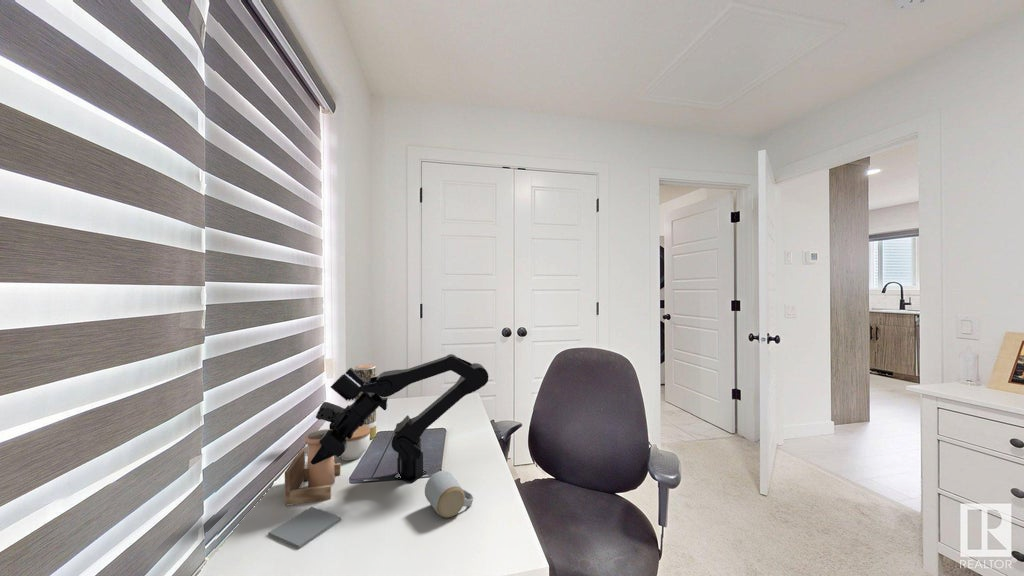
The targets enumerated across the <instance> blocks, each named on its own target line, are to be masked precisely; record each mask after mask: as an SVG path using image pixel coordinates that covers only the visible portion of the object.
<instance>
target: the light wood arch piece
mask: <svg viewBox="0 0 1024 576" xmlns="http://www.w3.org/2000/svg"><path fill="white" fill-rule="evenodd" d="M341 466H342V465H341V462H337V463H336V462H334V469H335V477H336V476H341V469H342V468H341ZM305 480H307V481H308V466H306V449H305V448H302V449H300V450H299V452H298V453H297V454H296V456H295V457H294V459H293V460H292V462H291V463H289V465H288V467H287V468H286V470H285V471H284V506H291V504H292V505H297V504H306V503H311V502H318V501H325V500H331V499H332V485H325V486H318V487H311V488H308V487H305V488H304V487H303V488H301V486H302V485H303V483H304V481H305Z"/></svg>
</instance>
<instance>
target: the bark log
mask: <svg viewBox="0 0 1024 576" xmlns="http://www.w3.org/2000/svg"><path fill="white" fill-rule="evenodd" d="M354 371H355V372H356V373H357V374H358V375H359V376H360V377H362V378H363V379H364V380H366V379H367V378H372V377H377V376H376V375H377V374H376V373H377V372H376V364H371V363H370V364H360V365H357V366H354ZM362 393H363V392H362V391H361V392H360V393H359V394H358V396H357V397H356V398H355V399H354V402H355V401H356V400H357V398H358V397H359V396H360V395H361V394H362ZM363 425H365V426H368V427H370V440H373V439H374V438H375V437H376V436H377V409H376V410H375V411H374V412H373V413H372V414H371V415H370V416H369V417H368V418H367V420H366V421H365V423H364V424H363Z"/></svg>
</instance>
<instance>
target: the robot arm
mask: <svg viewBox="0 0 1024 576" xmlns="http://www.w3.org/2000/svg"><path fill="white" fill-rule="evenodd" d="M446 372H447V373H448V372H453V373H456V374H457V375H459V378H458V380H457V381H456V382H455V383H454V384H453V385H452V386H451V387H450V388H449V389H447V390H446V391H445V392H444V393H442V394H441V395H440V396H439V397H438V398H437V399H435V400H434V401H433V402H432V403H431V404H430V405H428V406H427V407H426V408H425V409H424V410H423V411H421V412H420V413H419V414H418V415H416V416H415V417H414V416H413V417H412V418H410V416H409V415H406V416H405V417H404V418H403V420H402V421H400V422H398V423H396V425H395V428H394V430H393V432H392V439H391V448H392V450H393V451H395V452H396V453H398V454H397V459H396V461H397V463H396V464H397V465H396V466H397V467H396V469H397V474H398V473H399V474H400V476H401V478H400V477H398V478H400V479H399V480H400V481H404V482H408V483H414V482H415V481H417V480H418V479H420V478H421V477H422V476H423V475H422V474H423V473H424V472H426V471H424V470H423V469H424V452H423V451H422V438H421V437H422V435H423V433H424V432H425V431H426V430H427V429H428V428H429V427H430V426H432V424H434V423H435V422H436V421H437V420H438V419H439V418H441V417H442V416H443V415H444V414H445V413H446V412H447V411H449V410H450V409H451V408H452V407H454V405H455V404H457V403H458V402H459V401H460V400H461V399H462V398H464V397H465V396H467V395H470V394H472V393H474V392H476V391H478V390H480V389H481V388H483V387H484V386H486V384H488V381H489V377H490V375H489V372H488V371H487V370H486V368H485V367H484V366H483V365H482V364H480V363H479V362H478V363H475V362H473V363H471V362H469V361H467V360H465V359H463V358H461V357H460V358H459V356H456V355H455V354H452V353H450V354H447V355H445V356H443V357H439V358H437V359H434V360H432V361H427V362H424V363H422V364H419V365H415V366H412V367H409V368H405V369H393V370H387V371H383V372H381V373H380V374H379V375H377V376H376V377H372V378H367V379H366V380H364V379H363V378H362V377H360V376H359V375H358V374H357V373H356V372H355V369H353V368H352V367H350V368H349V369H347V371H345V373H343V374H342V375H340V376H339V378H337V379H336V381H334V382H333V383H332V384H331V386H330V389H332V390H333V391H334V392H335V393H337V394H338V395H339V396H340V397H341V398H342V399H344V400H345V401H351V400H352V401H354V402H352V403H351V404H350V405H347V406H346V407H345V408H344V407H341V406H340V405H338V404H335V403H331V402H327V401H323V402H322V404H321V405H320V407H319V408H318V411H317V412H316V415H315V419H317V420H323V421H325V422H329V426H328V428H329V429H331V430H328V431H327V432H326V433H325V434H324V435H323V436H322V438H321V439H320V441H319V442H320V444H321V447H320V449H319V450H318V451H317V453H316V454H315V456H314V457H313V459H312V460H311V463H312V464H313V465H314V464H316V463H319V462H321V461H323V460H325V459H327V458H330V457H332V456H334V457H337V458H339V457H340V456H341V455H342V454H343V452H344V451H345V449H346V447H347V440H346V438H349V439H350V438H351V437H352V436H353V433H354V432H355V431H356V430H357V429H358V428H359V427H360V426H361V427H362V426H363V424H364V423H365V421H366V420H367V418H368V417H369V416H370V415H371V414H372V413H373V412H374V411H375V410H376V411H377V409H378V408H379V407H380V408H381V409H382V410H383V411H387V408H388V401H389V400H388V399H389V398H388V397H390V396H392V395H395V394H396V393H398V392H400V391H401V390H403V389H405V388H406V387H408V386H410V385H412V384H414V383H416V382H419V381H420V382H421V381H423V380H425V379H426V380H427V379H429V378H432V377H434V376H439V375H441V374H444V373H446ZM361 391H362V392H363V393H362V394H361V395H360V396H359V397H358V398H357V400H356V401H355V398H356V397H357V396H358V394H359V393H360V392H361ZM340 458H341V457H340ZM423 471H424V472H423ZM426 473H427V472H426ZM421 475H422V476H421ZM420 476H421V477H420Z"/></svg>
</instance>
